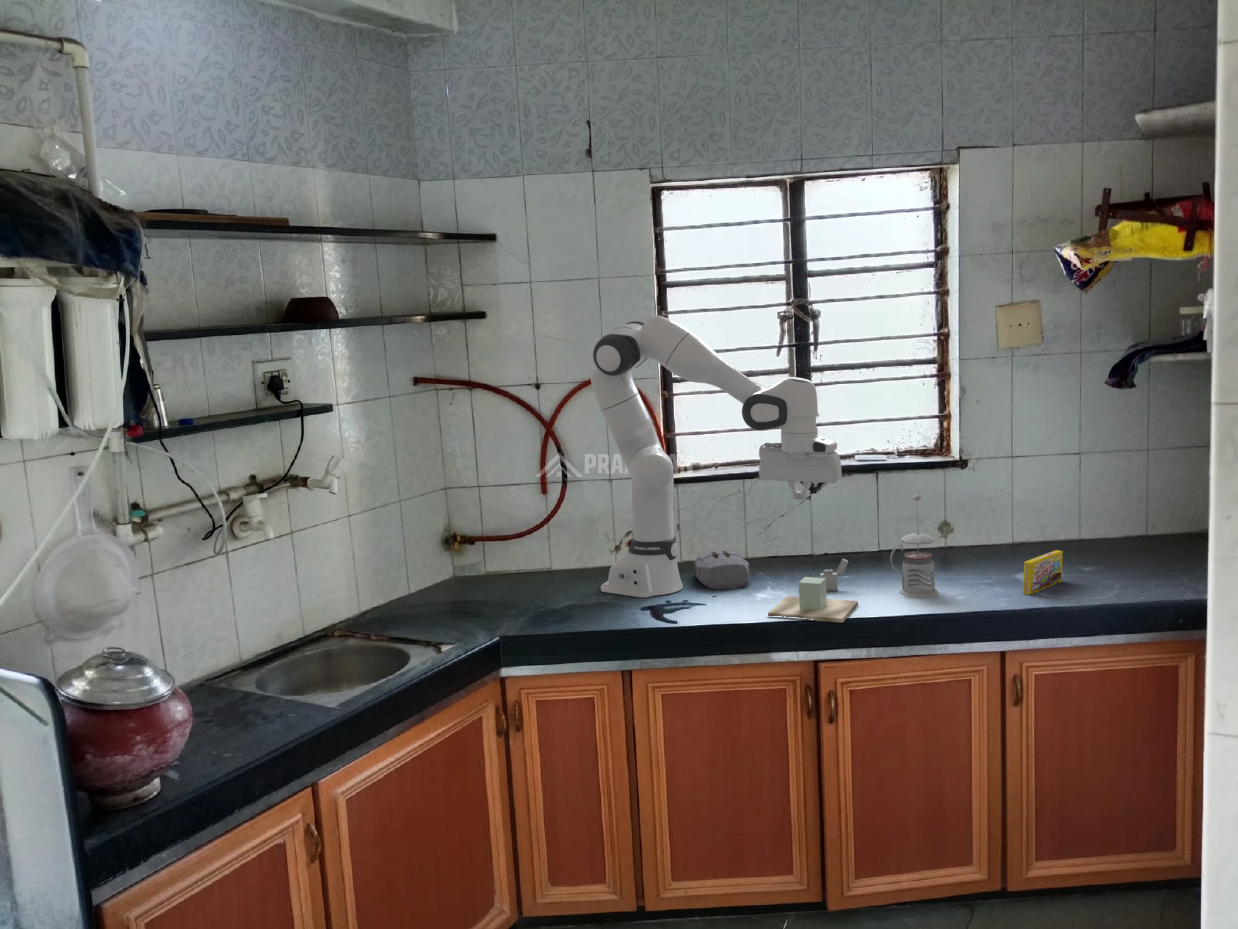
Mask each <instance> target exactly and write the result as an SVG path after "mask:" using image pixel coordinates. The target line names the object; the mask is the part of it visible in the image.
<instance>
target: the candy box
mask: <svg viewBox="0 0 1238 929" xmlns="http://www.w3.org/2000/svg"><path fill="white" fill-rule="evenodd" d="M1063 552H1064V551H1063V550H1058V549H1056V550H1053V551H1050V552H1047V553H1045V554H1041V555H1039V556H1036V557H1034V558H1033V557H1032V558H1031V559H1029V560H1026V561H1024V562H1023V563H1024V565H1023V585H1022V586H1023V588H1022V589H1023V590H1022V595H1027V596H1030V595H1033V594H1035V593H1037V592H1040V591H1042V589H1043V590H1045V589H1047V587H1048V588H1049V586H1050V587H1052V586H1054V584H1055V585H1056V583H1057V584H1059V583H1062V582H1061V581H1063V560H1064V558H1063V557H1064V556H1063ZM1058 582H1059V583H1058ZM1051 585H1052V586H1051ZM1034 592H1035V593H1034Z"/></svg>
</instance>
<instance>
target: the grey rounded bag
mask: <svg viewBox="0 0 1238 929" xmlns="http://www.w3.org/2000/svg"><path fill="white" fill-rule="evenodd" d="M695 560H696V561H695V562H694V575H695V577H696V578H697V580H699V582H700V583H701V584H702V585H703V586H704V587H705V588H709V589H712V590H724V589H725V590H726V589H736V588H737V589H739V588H741V587H744V586H746V585H747V583H748V581H749V577H750V574H751V566H750V565H751V564H750V563H749V562H748V560H746V559H745V558H743V557H742V555H740V554H739V553H737V552H733V551H729V550H715V551H710V552H705V553H701V555H700V554H699V555H698V556H697V558H696V559H695Z"/></svg>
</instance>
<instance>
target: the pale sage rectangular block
mask: <svg viewBox="0 0 1238 929" xmlns="http://www.w3.org/2000/svg"><path fill="white" fill-rule="evenodd" d="M798 597H799V604H800V609H807V610H820V611H821V610H822V609H823V608H824V607H825V606H826V605H827V599H828V598H827V591H826V578H820V577H814V576H813V577H811V576H804V577H803V578H802V579H801V580H799V582H798Z"/></svg>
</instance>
